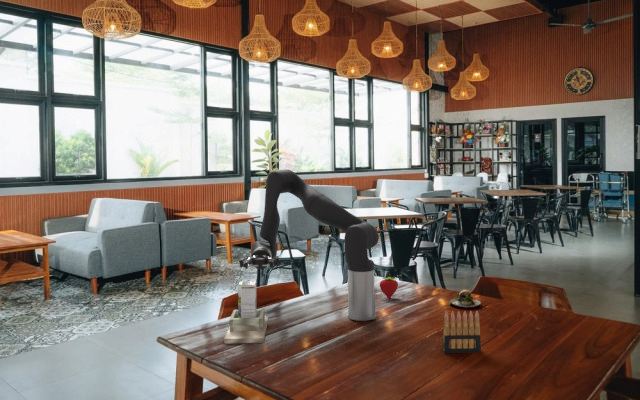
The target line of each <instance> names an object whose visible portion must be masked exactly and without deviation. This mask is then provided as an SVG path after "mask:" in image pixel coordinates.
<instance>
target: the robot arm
mask: <svg viewBox="0 0 640 400" xmlns="http://www.w3.org/2000/svg"><path fill="white" fill-rule="evenodd" d="M265 183H266V185H265V195H264V196H265V197H264V211H263V217H262V220H261V227H260V230H259V236H260V238H261V239H262V240H265V241H261V240H256V241H255V242H254V243H252V246H251V248H250V249H251V252H250V253H251V255H250V257H248V258H246V257H240V259H239V260H238V261H239V267H240V268H244V269H248V268H253V267H254V268H255V269H257V270H265V269H266V268H268V267H269V268H273V267H274V266H280V256H279V255H278V249H277V248H278V247H277V237H278V232H279V228H280V223H281V218H280V212H279V210H278V201H279V198H280V195H281V194H285V193H286V194H287V193H290V194H291V195H293V196H295V197H296V198H297V199H299V200H300V201H301V204H302V207H303V209H304V210H305V212H306V213H307V214H308V215H309V216H311V217H312V218H314V219H315V220H316V221H318V222H319V223H320V224H321V223H322V224H324V225H326V226H329V227H332V228H335V229H338V230H340V231H343V232H344V253H345V255H344V256H345V262H346V264H347V294H348V295H347V298H348V299H347V303H348V305H347V306H348V309H347V310H348V311H347V312H348V318H349V319H350V320H353V321H357V322H366V321H370V320H377V319H376V292H375V262H374V261H373V260H372V259H369V256H368V255H369V254H368V250H369V249H372V248H374V247H375V246H376V245H377V244H378V243H379V241H380V239H379V232H378V231H377V229H376V227H375V226H374V225H372V224H371V223H369V222H367V221H366V220H364V219H361V218H360V217H358V216H356V215H354V214H352V213H351V212H350V211H348V210H347V209H345V208H344V207H342V206H341V205H339V204H338V203H336V202H335V201H334V200H333V199H331V198H329V197H328V196H326V195H325V194H324V193H322V192H320V191H318V190H317V189H316V188H314V187H313V186H311V185H310V184H308V183H307V181H305V180H304V179H302V177H300V176H299V175H298V174H297V173H295V172H294V171H293V170H291V169H287V168H286V169H285V168H283V169H277V170H272V171H270V172H269V173H268V175H267V177H266V182H265ZM266 241H267V242H266Z"/></svg>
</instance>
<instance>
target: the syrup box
mask: <svg viewBox="0 0 640 400" xmlns="http://www.w3.org/2000/svg"><path fill="white" fill-rule="evenodd" d="M237 310H238V318H257V281H255V280H242V281H239V283H238V286H237Z"/></svg>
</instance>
